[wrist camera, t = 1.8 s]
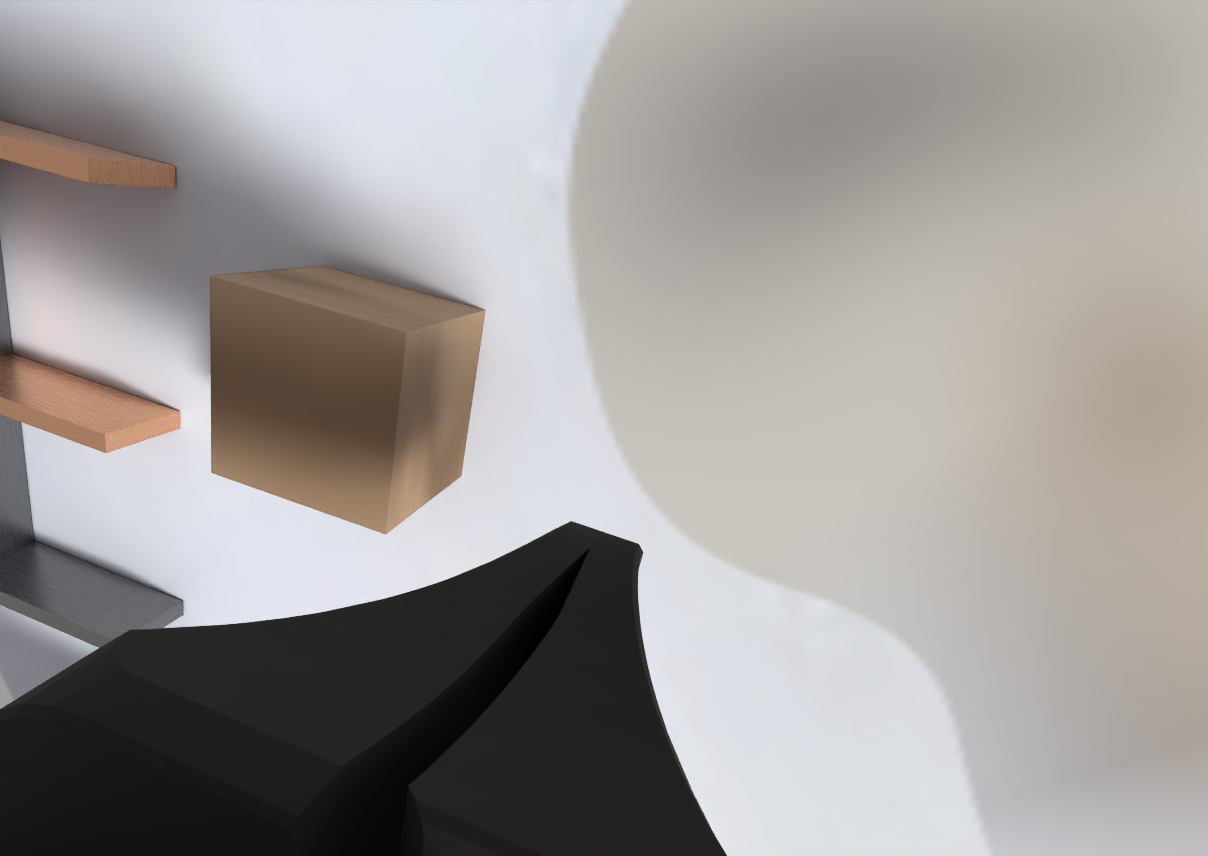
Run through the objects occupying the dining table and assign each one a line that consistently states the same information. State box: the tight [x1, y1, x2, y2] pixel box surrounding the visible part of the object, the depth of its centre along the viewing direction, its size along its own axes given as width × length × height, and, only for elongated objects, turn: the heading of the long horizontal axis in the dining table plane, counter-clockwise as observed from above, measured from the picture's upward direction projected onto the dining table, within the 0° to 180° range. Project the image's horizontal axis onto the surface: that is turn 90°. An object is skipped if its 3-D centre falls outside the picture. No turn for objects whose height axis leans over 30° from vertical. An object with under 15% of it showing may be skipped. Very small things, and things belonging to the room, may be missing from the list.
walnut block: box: [210, 266, 485, 534], centre depth 17 cm, size 5×5×4 cm
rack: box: [0, 120, 183, 648], centre depth 19 cm, size 23×8×4 cm, turn 167°
